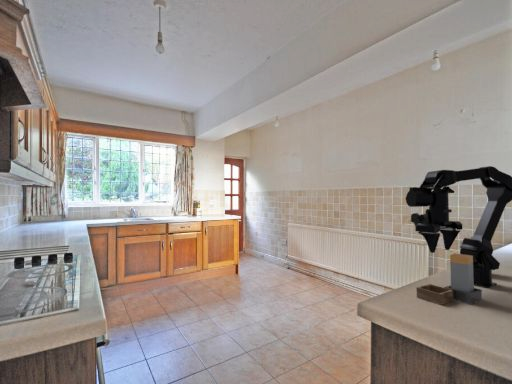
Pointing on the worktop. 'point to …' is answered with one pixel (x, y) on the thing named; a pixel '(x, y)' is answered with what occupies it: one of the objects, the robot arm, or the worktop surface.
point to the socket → (467, 295)
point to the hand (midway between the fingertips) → (439, 251)
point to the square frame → (435, 294)
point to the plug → (462, 272)
